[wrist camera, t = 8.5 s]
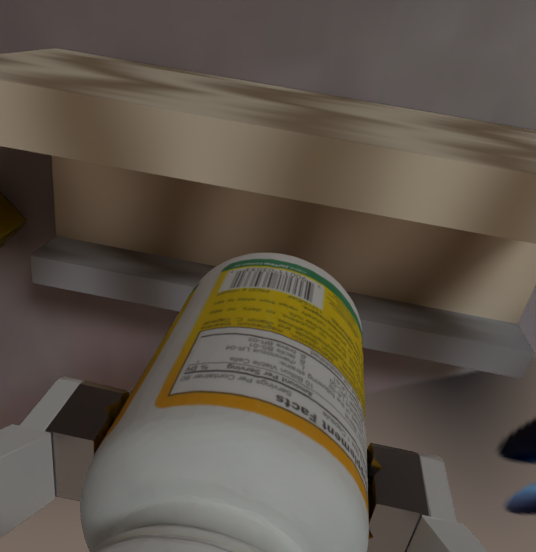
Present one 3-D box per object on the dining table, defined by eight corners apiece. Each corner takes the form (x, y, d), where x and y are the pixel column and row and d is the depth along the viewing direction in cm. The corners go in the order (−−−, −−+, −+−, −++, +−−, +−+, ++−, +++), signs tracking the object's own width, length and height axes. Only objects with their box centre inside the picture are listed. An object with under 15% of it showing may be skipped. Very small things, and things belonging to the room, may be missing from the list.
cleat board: (66, 261, 28) (-42, 357, 20) (56, 48, 23) (-93, 63, 15) (498, 344, 27) (562, 480, 19) (588, 139, 22) (728, 208, 14)
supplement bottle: (298, 212, 13) (212, 536, 5) (396, 357, 15) (458, 791, 7) (150, 301, 15) (-94, 644, 7) (251, 421, 17) (154, 820, 8)
